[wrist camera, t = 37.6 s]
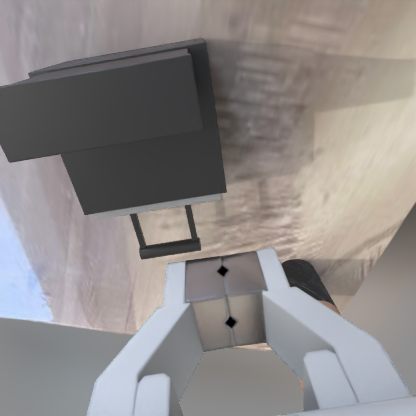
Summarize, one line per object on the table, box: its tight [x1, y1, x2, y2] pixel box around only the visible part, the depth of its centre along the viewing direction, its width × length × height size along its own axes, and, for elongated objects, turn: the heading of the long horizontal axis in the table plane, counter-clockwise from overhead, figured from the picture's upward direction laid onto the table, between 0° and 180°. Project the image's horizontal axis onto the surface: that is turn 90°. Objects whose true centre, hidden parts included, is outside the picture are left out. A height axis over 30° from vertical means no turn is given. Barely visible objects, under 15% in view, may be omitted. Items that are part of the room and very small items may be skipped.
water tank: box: [0, 48, 203, 163], centre depth 23 cm, size 4×12×10 cm, turn 99°
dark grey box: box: [28, 38, 227, 215], centre depth 33 cm, size 14×15×9 cm
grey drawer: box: [95, 193, 222, 259], centre depth 36 cm, size 19×13×7 cm
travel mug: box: [281, 259, 340, 390], centre depth 42 cm, size 8×8×20 cm
